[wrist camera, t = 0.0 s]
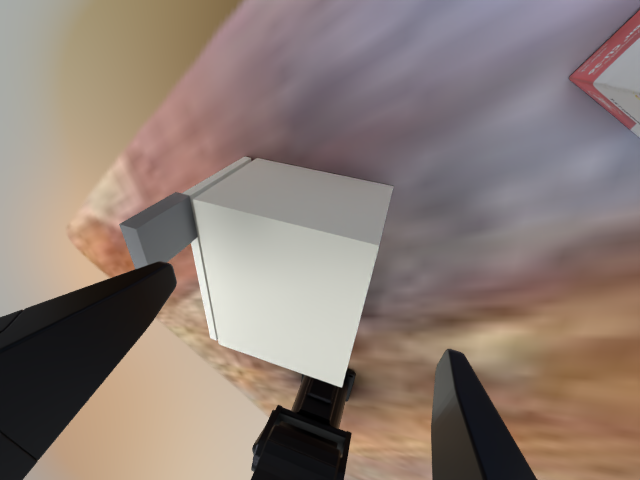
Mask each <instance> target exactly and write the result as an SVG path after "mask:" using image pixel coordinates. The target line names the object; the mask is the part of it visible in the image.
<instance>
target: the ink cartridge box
mask: <svg viewBox="0 0 640 480" xmlns="http://www.w3.org/2000/svg"><path fill="white" fill-rule="evenodd" d="M569 79H570V81H572V82H573V83H575V84H576V85H577V86H578V87H579V88H581V89H582V90H583V91H584V92H586V93H587V94H588V95H589V96H590V97H592V98H593V99H594V100H595V101H596V102H598V103H599V104H600V105H601V106H602V107H603V108H605V109H606V110H607V111H608V112H609V113H611V114H612V115H613V116H614V117H615V118H617V119H618V120H619V121H620V122H621V123H623V124H624V125H625V126H626V127H627V128H628V129H630V130H631V131H632V132H633V133H634V134H636V135H637V136H638V137H639V138H640V10H639V11H638V12H637V13H636V14H635V15H634V16H633V17H632V18H631V19H630V20H629V21H627V22H626V23H625V24H624V25H623V26H622V27H621V28H620V29H619V30H618V31H617V32H616V33H615V34H614V35H613V36H612V37H611V38H610V39H609V40H608V41H606V42H605V43H604V44H603V45H602V46H601V47H600V48H599V49H598V50H597V51H596V52H595V53H594V54H593V55H592V56H591V57H590V58H589V59H588V60H586V61H585V62H584V63H583V64H582V65H581V66H580V67H579V68H578V69H577V70H576V71H575V72H574V73H573V74H572V75H571V76H570V78H569Z"/></svg>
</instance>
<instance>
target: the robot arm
mask: <svg viewBox="0 0 640 480" xmlns="http://www.w3.org/2000/svg"><path fill="white" fill-rule="evenodd" d="M176 284H177V281H176V277H175V273H174V269H173V266H172V265H171V264H169V263H166V262H163V261H158V262H155V263H152V264H149V265H146V266H144V267H141V268H138V269H135V270H132V271H130V272H127V273H124V274H121V275H118V276H115V277H113V278H110V279H107V280H104V281H101V282H99V283H96V284H93V285H90V286H88V287H84V288H82V289H79V290H76V291H73V292H70V293H68V294H65V295H62V296H59V297H57V298H54V299H51V300H48V301H45V302H42V303H40V304H37V305H34V306H31V307H28V308H26V309H24V310H20V311H17V312H14V313H11V314H9V315H6V316H3V317H0V480H23V479H24V477H25V476H26V475H27V474H28V473H29V471H30V470H31V469H32V468H33V466H34V465H35V464H36V463H37V461H38V460H39V459H40V457H42V455H43V454H44V453H45V452H46V450H47V449H48V448H49V447H50V446H51V444H52V443H53V442H54V441H55V440H56V438H57V437H58V436H59V435H60V433H61V432H62V431H63V430H64V429H65V427H66V426H67V425H68V424H69V422H70V421H71V420H72V419H73V418H74V417H75V415H76V414H77V413H78V412H79V411H80V409H81V408H82V407H83V406H84V404H85V403H86V402H87V401H88V400H89V398H90V397H91V396H92V395H93V394H94V392H95V391H96V390H97V389H98V388H99V386H100V385H101V384H102V383H103V382H104V380H105V379H106V378H107V377H108V375H109V374H110V373H111V372H112V371H113V369H114V368H115V367H116V366H117V364H118V363H119V362H120V361H121V359H123V357H124V356H125V355H126V354H127V352H128V351H129V350H130V349H131V348H132V346H133V345H134V344H135V343H136V342H137V340H138V339H139V338H140V337H141V336H142V334H143V333H144V332H145V331H146V329H147V328H148V327H149V325H150V324H151V323H152V321H153V320H154V318H155V317H156V316H157V314H158V313H159V311H160V310H161V308H162V307H163V305H164V304H165V302H166V301H167V299H168V298H169V296H170V295H171V293H172V292H173V290H174V289H175V287H176ZM355 375H356V374H355V372H353V371H351V370H348V369H347V371H346V374H345V378H344V382H343V386H342V388H341V387H338V386H336V385H333V384H330V383H327V382H324V381H321V380H319V379H316V378H313V377H310V376H307V375H304V374H302V381H301V386H300V388H299V391H298V394H297V396H296V399H295V402H294V404H293V407H292V410H288V409H285V408H283V407H282V406H280V405H278V406H277V408H276V410H272V413H271V415H270V417H269V420H268V422H267V424H266V426H265V428H264V429H263V431H262V432H261V434H260V435H259V437H258V439H257V440H256V442H255V443H254V445H253V448H252V450H253V454H254V457H253V463H252V471H254V473H253V476H252V478H251V480H344V475H345V469H346V463H347V457H348V451H349V445H350V439H351V432H348V431H347V432H345V431H343V430H340V429H339V426H340V422H341V418H342V413H343V409H344V405H345V401H348V399H349V396H350V392H351V389H352V386H353V382H354V379H355ZM431 443H432V476H433V480H537V479H536V477H535V475H534V473H533V472H532V470H531V468H530V467H529V465H528V463H527V461H526V460H525V458H524V456H523V455H522V453H521V451H520V449H519V448H518V446H517V444H516V443H515V441H514V439H513V437H512V436H511V434H510V432H509V431H508V429H507V427H506V425H505V424H504V422H503V420H502V419H501V417H500V415H499V413H498V412H497V410H496V408H495V407H494V405H493V403H492V401H491V400H490V398H489V396H488V395H487V393H486V391H485V389H484V388H483V386H482V384H481V382H480V381H479V379H478V377H477V376H476V374H475V372H474V370H473V369H472V367H471V365H470V364H469V362H468V360H467V358H466V357H465V355H464V354H463V353H461V352H459V351H455V350H452V349H447V350H446V351H445V353H444V354H443V356H442V358H441V359H440V361H439V363H438V365H437V368H436V373H435V385H434V397H433V410H432V423H431Z"/></svg>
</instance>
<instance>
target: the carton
mask: <svg viewBox="0 0 640 480" xmlns="http://www.w3.org/2000/svg"><path fill="white" fill-rule="evenodd" d="M393 187H394V186H390V185H385V184H380V183H376V182H371V181H366V180H361V179H356V178H351V177H347V176H342V175H337V174H332V173H327V172H323V171H318V170H313V169H308V168H303V167H298V166H294V165H289V164H284V163H279V162H274V161H269V160H265V159H260V158H256V159H255V160H253V161H252V162H250V163H248V164H247V165H245V166H244V167H242V168H241V169H239V170H237V171H236V172H234V173H233V174H231V175H230V176H228V177H227V178H225V179H223V180H222V181H220V182H219V183H217V184H216V185H214V186H213V187H211V188H209V189H208V190H206V191H205V192H203V193H202V194H200V195H198V196H197V197H195V198H194V199H193V203H194V209H195V214H196V220H197V225H198V231H199V236H200V242H201V247H202V253H203V259H204V264H205V270H206V275H207V281H208V286H209V292H210V297H211V303H212V308H213V314H214V319H215V325H216V330H217V336H218V342H219V344H220V345H222V346H225V347H228V348H231V349H234V350H237V351H239V352H242V353H245V354H248V355H251V356H254V357H256V358H259V359H262V360H265V361H268V362H271V363H273V364H276V365H279V366H282V367H285V368H287V369H290V370H293V371H296V372H299V373H302V374H304V375H307V376H310V377H313V378H316V379H319V380H321V381H324V382H327V383H330V384H333V385H336V386H338V387H341V388H342V386H343V382H344V378H345V374H346V371H347V367H348V363H349V359H350V355H351V352H352V348H353V344H354V340H355V336H356V333H357V329H358V325H359V321H360V317H361V314H362V310H363V306H364V302H365V298H366V295H367V291H368V287H369V283H370V280H371V276H372V272H373V268H374V264H375V261H376V257H377V253H378V249H379V245H380V241H381V237H382V233H383V229H384V224H385V220H386V216H387V212H388V208H389V204H390V199H391V195H392V191H393Z"/></svg>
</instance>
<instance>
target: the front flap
mask: <svg viewBox="0 0 640 480" xmlns="http://www.w3.org/2000/svg"><path fill="white" fill-rule="evenodd" d="M250 162H251V158H249V157H243V158H241V159H239V160H238V161H236V162H234V163H233V164H231V165H229V166H227V167H226V168H224V169H222V170H221V171H219V172H217V173H216V174H214V175H212V176H210V177H209V178H207V179H205V180H204V181H202V182H200V183H199V184H197V185H195V186H193V187H192V188H190V189H188V190H187V191H185V192H183V193H178V192H175V193H173V194H172V195H170V196H168V197H166V198H165V199H163V200H161V201H159V202H158V203H156V204H154V205H152V206H150V207H149V208H147V209H145V210H143V211H142V212H140V213H138V214H136V215H135V216H133V217H131V218H129V219H128V220H126V221H124V222H122V223H121V224H119V225H120V228H121V231H122V233H123V236H124V239H125V242H126V244H127V247H128V250H129V253H130V255H131V258H132V261H133V263H134V266H135V269H138V268H141V267H144V266H146V265H149V264H152V263H155V262H158V261H163V262H166V263H167V262H168V261H169V260H170V259H172V258H173V257H174V256H175V255H176V254H178V253H179V252H180V251H181V250H183V249H184V248H185V247H186V246H187V245H189V244H190V243H191V245H192V250H193V255H194V260H195V265H196V270H197V275H198V279H199V284H200V289H201V294H202V299H203V304H204V309H205V314H206V319H207V323H208V328H209V333H210V338H211V339H214V340H217V339H218V336H217V330H216V325H215V319H214V314H213V308H212V303H211V297H210V292H209V286H208V281H207V275H206V270H205V264H204V259H203V253H202V247H201V242H200V236H199V231H198V225H197V220H196V214H195V209H194V203H193V199H194V198H195V197H197V196H198V195H200V194H202V193H203V192H205V191H206V190H208V189H209V188H211V187H213V186H214V185H216V184H217V183H219V182H220V181H222V180H223V179H225V178H227V177H228V176H230V175H231V174H233V173H234V172H236V171H237V170H239V169H241V168H242V167H244V166H245V165H247V164H248V163H250Z"/></svg>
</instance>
